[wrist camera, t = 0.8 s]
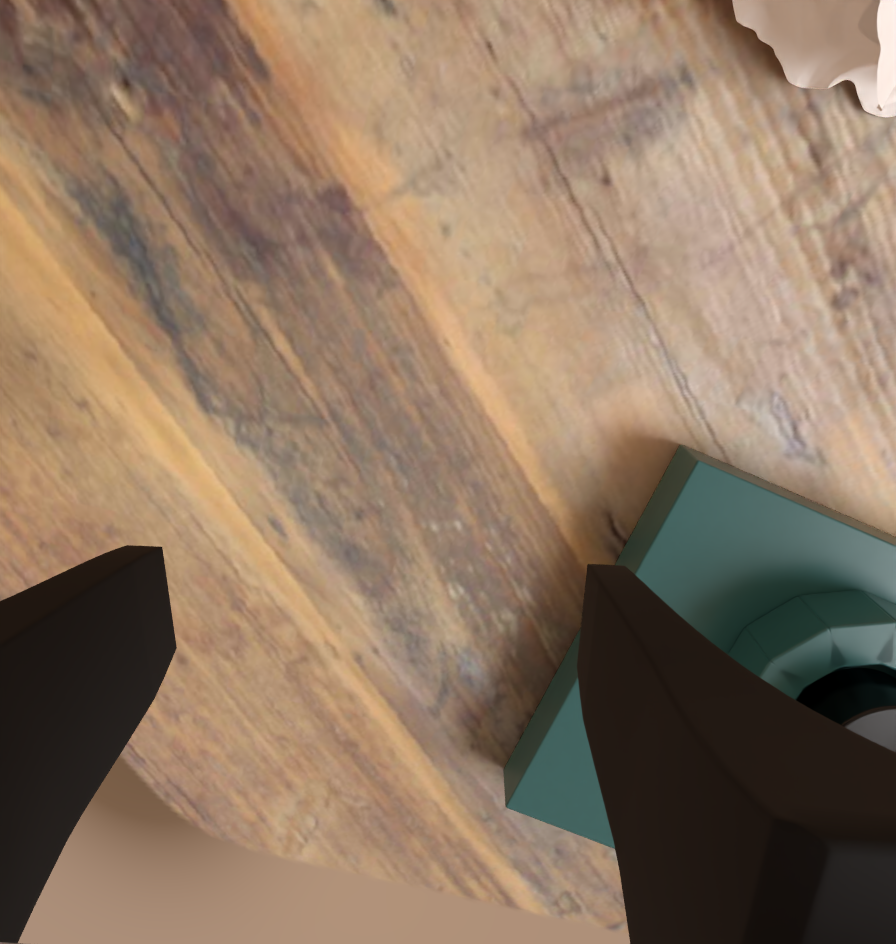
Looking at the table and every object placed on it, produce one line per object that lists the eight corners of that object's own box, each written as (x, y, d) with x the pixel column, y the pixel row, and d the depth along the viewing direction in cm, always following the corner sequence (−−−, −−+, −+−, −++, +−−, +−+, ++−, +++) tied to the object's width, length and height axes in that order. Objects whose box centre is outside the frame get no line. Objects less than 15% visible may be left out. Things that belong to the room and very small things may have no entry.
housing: (761, 868, 24) (807, 967, 21) (502, 769, 23) (507, 855, 20) (973, 570, 21) (1068, 631, 18) (679, 443, 20) (721, 481, 17)
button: (869, 786, 19) (906, 836, 18) (764, 745, 19) (792, 791, 18) (937, 693, 19) (983, 737, 17) (829, 648, 18) (865, 688, 17)
